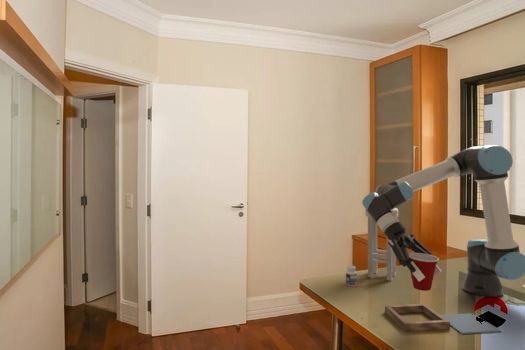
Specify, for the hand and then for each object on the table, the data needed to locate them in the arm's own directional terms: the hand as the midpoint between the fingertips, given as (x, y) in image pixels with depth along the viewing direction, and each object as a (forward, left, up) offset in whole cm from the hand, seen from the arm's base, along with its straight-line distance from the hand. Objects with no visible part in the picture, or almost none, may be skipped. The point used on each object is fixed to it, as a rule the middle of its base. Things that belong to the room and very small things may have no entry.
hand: (430, 276), depth 124 cm
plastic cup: (+2, -3, -5) cm, 6 cm away
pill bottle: (+14, -43, -17) cm, 49 cm away
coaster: (-13, +2, -17) cm, 21 cm away
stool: (-6, -54, -17) cm, 57 cm away
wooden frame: (+4, -3, -17) cm, 18 cm away
